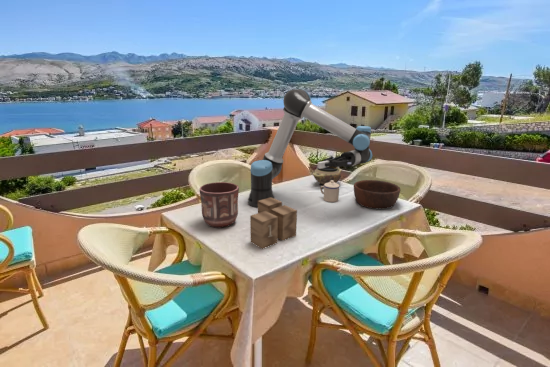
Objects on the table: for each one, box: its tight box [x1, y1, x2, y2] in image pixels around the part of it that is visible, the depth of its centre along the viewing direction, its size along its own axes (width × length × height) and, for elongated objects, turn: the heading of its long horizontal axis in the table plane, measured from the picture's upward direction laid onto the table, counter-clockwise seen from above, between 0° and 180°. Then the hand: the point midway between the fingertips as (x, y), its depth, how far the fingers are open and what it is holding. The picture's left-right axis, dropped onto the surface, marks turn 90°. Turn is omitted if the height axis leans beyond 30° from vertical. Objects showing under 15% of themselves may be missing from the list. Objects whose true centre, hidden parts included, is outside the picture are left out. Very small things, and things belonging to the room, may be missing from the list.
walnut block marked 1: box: [249, 211, 278, 250], centre depth 131 cm, size 8×8×12 cm
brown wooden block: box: [271, 204, 298, 241], centre depth 138 cm, size 8×8×12 cm
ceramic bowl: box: [312, 166, 343, 187], centre depth 209 cm, size 24×18×15 cm
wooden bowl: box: [353, 179, 401, 210], centre depth 178 cm, size 25×25×10 cm
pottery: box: [199, 181, 240, 229], centre depth 149 cm, size 18×18×18 cm
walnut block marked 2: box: [257, 197, 283, 213], centre depth 148 cm, size 8×8×12 cm
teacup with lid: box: [319, 180, 341, 203], centre depth 183 cm, size 12×9×12 cm
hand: (318, 165), depth 146 cm, fingers closed
